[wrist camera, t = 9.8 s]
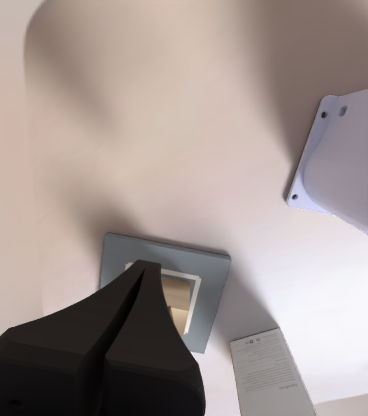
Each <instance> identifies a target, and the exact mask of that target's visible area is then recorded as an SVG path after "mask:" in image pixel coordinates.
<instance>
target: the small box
mask: <svg viewBox="0 0 368 416" xmlns="http://www.w3.org/2000/svg"><path fill="white" fill-rule="evenodd" d="M230 350H231V356H232V363H233V369H234V374H235V381H236V387H237V394H238V400H239V407H240V413H241V416H318V415H317V413H316V410H315V408H314V405H313V403H312V401H311V398H310V396H309V394H308V391H307V389H306V387H305V384H304V382H303V380H302V377H301V375H300V372H299V370H298V368H297V365H296V363H295V361H294V358H293V356H292V354H291V351H290V349H289V347H288V344H287V342H286V340H285V338H284V335H283V333H282V331H281V329H280V328H277V329H274V330H270V331H267V332H263V333H260V334H256V335H253V336H249V337H246V338H243V339H239V340H236V341H233V342H230Z"/></svg>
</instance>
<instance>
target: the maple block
mask: <svg viewBox="0 0 368 416" xmlns="http://www.w3.org/2000/svg"><path fill="white" fill-rule="evenodd" d="M161 280H162V287H163V292H164V296H165V300H166V303H167V306H171V310H172V315H173V319H174V324H175V326H176V328H177V330H178V332H179V334H180V336H181V338H182V339H183V335H184V331H185V327H186V322H187V318H188V314H189V306H190V282H185V281H180V280H175V279H170V278H164V277H161Z"/></svg>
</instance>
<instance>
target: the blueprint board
mask: <svg viewBox="0 0 368 416" xmlns="http://www.w3.org/2000/svg"><path fill="white" fill-rule="evenodd" d="M138 259H140V260H145V261H151V262H156V263H160V264H161V265H162V268H161V277H164V278H170V279H175V280H180V281H185V282H190V306H189V314H188V318H187V322H186V327H185V331H184V335H183V339H182V340H183V341H184V343H185V345H186V346H187V348H188V350H189V351H192V352H197V353H202V354H204V352H205V349H206V345H207V342H208V338H209V335H210V332H211V328H212V325H213V321H214V318H215V315H216V311H217V308H218V304H219V301H220V298H221V294H222V291H223V287H224V284H225V281H226V277H227V274H228V270H229V267H230V264H231V257H230V256H226V255H221V254H215V253H210V252H205V251H200V250H195V249H190V248H185V247H179V246H174V245H169V244H164V243H159V242H154V241H149V240H144V239H138V238H133V237H128V236H123V235H118V234H113V233H108V232H107V233H106V235H105V236H104V247H103V259H102V272H101V285H100V289H102V288H103V287H104V286H106V285H107V284H109V283H110V282H111V281H113V280H114V279H115V278H117V277H118V276H119V275H120V274H122V273H123V272H124V271H125V270H126V269H128V268H129V267H130V266H131V265H132V264H133V263H134V262H135V261H136V260H138Z"/></svg>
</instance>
